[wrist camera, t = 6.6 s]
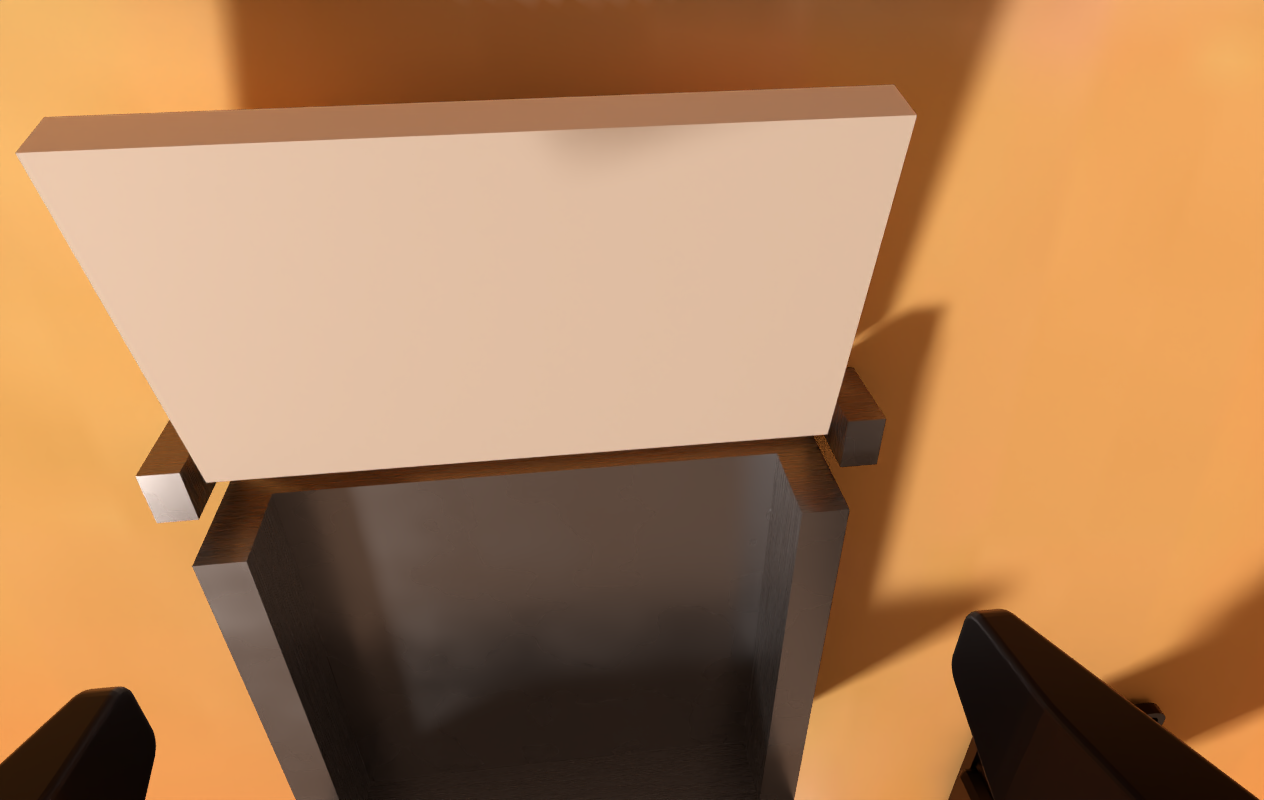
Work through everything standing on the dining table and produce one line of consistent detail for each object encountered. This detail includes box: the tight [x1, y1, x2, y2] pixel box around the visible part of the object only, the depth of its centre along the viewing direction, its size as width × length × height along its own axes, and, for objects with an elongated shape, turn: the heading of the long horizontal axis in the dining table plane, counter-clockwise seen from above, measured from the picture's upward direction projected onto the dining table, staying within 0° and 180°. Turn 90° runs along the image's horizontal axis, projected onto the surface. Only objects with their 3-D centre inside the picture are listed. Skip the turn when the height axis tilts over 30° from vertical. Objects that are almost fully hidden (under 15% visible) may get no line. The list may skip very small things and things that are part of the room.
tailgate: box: [16, 84, 917, 483], centre depth 14 cm, size 2×12×7 cm
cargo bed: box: [136, 368, 886, 800], centre depth 19 cm, size 14×15×7 cm
